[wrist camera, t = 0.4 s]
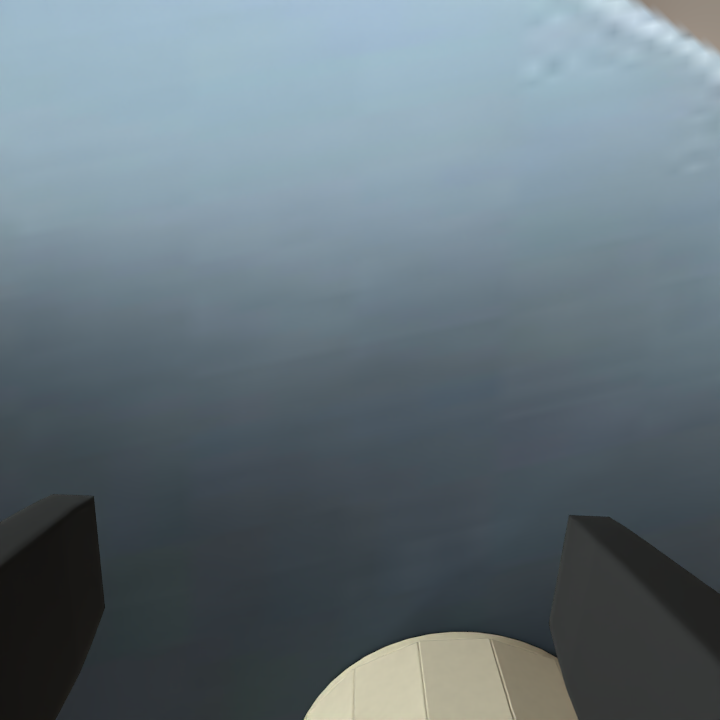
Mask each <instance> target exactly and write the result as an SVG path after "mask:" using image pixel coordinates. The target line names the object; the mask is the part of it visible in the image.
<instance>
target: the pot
mask: <svg viewBox="0 0 720 720" xmlns="http://www.w3.org/2000/svg"><path fill="white" fill-rule="evenodd" d="M304 720H578V718H577V715H576V713H575V710H574V708H573V705H572V702H571V700H570V697H569V695H568V692H567V690H566V686H565V683H564V679H563V676H562V672H561V669H560V665H559V662H558V658H556V657H555V656H553V655H551V654H549V653H547V652H545V651H544V650H542V649H540V648H537V647H535V646H532V645H529V644H527V643H524V642H522V641H519V640H515V639H511V638H507V637H503V636H499V635H493V634H485V633H478V632H445V633H435V634H428V635H423V636H418V637H414V638H409V639H406V640H403V641H400V642H397V643H394V644H391V645H388V646H386V647H383V648H381V649H379V650H377V651H375V652H373V653H371V654H369V655H367V656H365V657H364V658H362V659H361V660H359V661H358V662H356V663H355V664H353V665H351V666H350V667H348V668H347V669H346V670H345V671H344V672H342V673H341V674H340V675H339V676H338V677H337V678H335V679H334V680H333V681H332V682H331V683H330V684H329V685H328V686H327V687H326V689H325V690H324V691H323V692H322V693H321V694H320V695H319V696H318V698H317V699H316V701H315V702H314V704H313V705H312V707H311V708H310V710H309V711H308V713H307V714H306V716H305V718H304Z"/></svg>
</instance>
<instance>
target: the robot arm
mask: <svg viewBox="0 0 720 720" xmlns="http://www.w3.org/2000/svg"><path fill="white" fill-rule="evenodd" d="M104 609H105V604H104V594H103V584H102V574H101V564H100V554H99V544H98V534H97V524H96V514H95V504H94V496H83V495H58V494H52V495H50V496H48V497H46V498H44V499H42V500H40V501H38V502H36V503H34V504H32V505H30V506H28V507H26V508H24V509H23V510H21V511H19V512H17V513H15V514H14V515H12V516H10V517H8V518H7V519H5V520H3V521H1V522H0V720H55V719H56V717H57V715H58V713H59V712H60V710H61V708H62V706H63V704H64V702H65V700H66V698H67V696H68V695H69V693H70V691H71V689H72V687H73V685H74V683H75V681H76V679H77V677H78V675H79V673H80V671H81V669H82V666H83V664H84V661H85V659H86V656H87V654H88V651H89V649H90V646H91V644H92V641H93V638H94V636H95V633H96V630H97V628H98V625H99V622H100V619H101V617H102V614H103V611H104ZM549 626H550V630H551V634H552V638H553V642H554V646H555V650H556V654H557V658H558V662H559V665H560V669H561V672H562V676H563V679H564V683H565V686H566V690H567V692H568V695H569V697H570V700H571V702H572V705H573V708H574V710H575V713H576V715H577V718H578V720H720V594H719V593H717V592H716V591H715V590H713V589H712V588H710V587H709V586H707V585H706V584H705V583H703V582H702V581H700V580H699V579H698V578H696V577H695V576H693V575H692V574H691V573H689V572H688V571H686V570H685V569H684V568H682V567H681V566H680V565H678V564H677V563H675V562H674V561H673V560H671V559H670V558H668V557H667V556H666V555H664V554H663V553H661V552H660V551H659V550H657V549H656V548H655V547H653V546H652V545H650V544H649V543H648V542H646V541H645V540H643V539H642V538H640V537H639V536H638V535H636V534H635V533H633V532H632V531H630V530H629V529H627V528H626V527H624V526H623V525H621V524H620V523H618V522H616V521H615V520H613V519H611V518H610V517H600V516H575V515H569V518H568V524H567V529H566V534H565V540H564V545H563V551H562V556H561V561H560V567H559V572H558V577H557V583H556V588H555V593H554V599H553V604H552V610H551V615H550V620H549Z"/></svg>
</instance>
